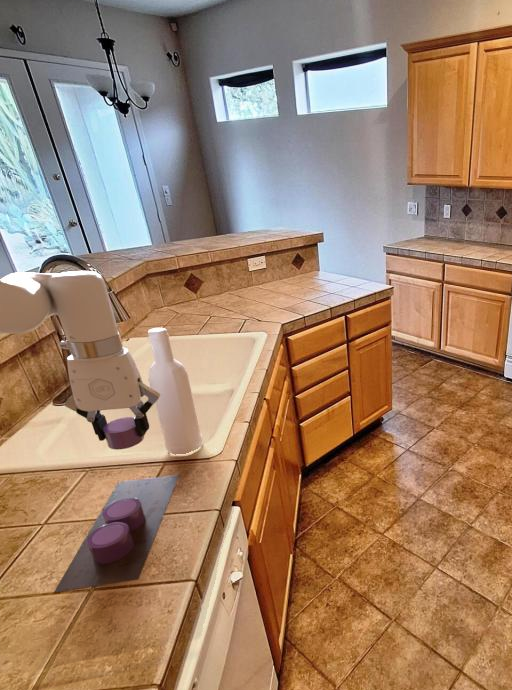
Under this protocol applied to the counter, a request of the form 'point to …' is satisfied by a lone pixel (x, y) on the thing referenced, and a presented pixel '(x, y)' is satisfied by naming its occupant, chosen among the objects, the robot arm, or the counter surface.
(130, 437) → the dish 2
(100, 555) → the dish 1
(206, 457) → the counter surface
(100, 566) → the dark grey board
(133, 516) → the dish centre
